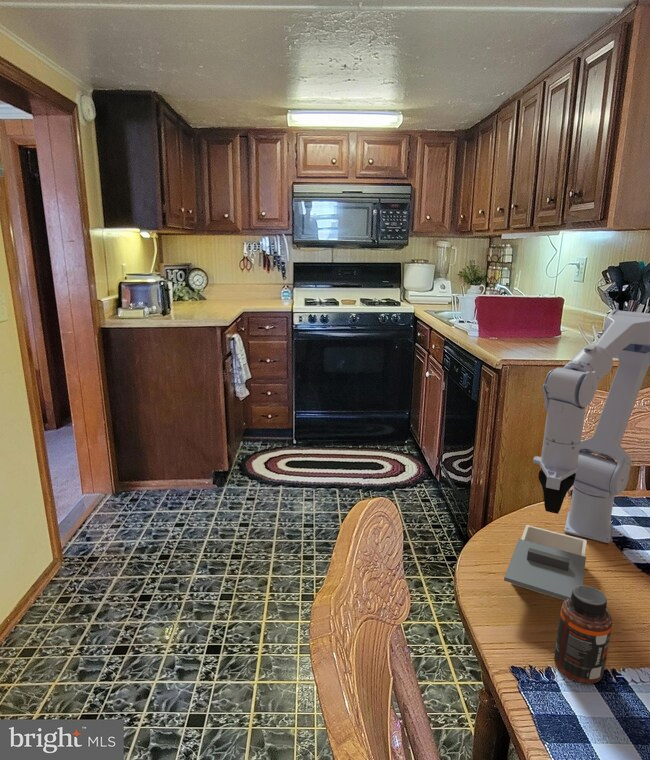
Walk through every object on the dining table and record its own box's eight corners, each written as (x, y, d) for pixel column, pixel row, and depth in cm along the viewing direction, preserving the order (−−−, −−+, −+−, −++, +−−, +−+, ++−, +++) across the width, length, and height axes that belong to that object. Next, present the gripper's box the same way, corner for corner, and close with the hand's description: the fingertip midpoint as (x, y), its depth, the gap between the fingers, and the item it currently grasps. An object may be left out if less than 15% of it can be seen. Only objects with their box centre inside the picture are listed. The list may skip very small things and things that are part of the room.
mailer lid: (518, 541, 87) (519, 530, 87) (585, 560, 82) (587, 548, 82) (503, 580, 77) (505, 568, 76) (579, 604, 72) (582, 591, 71)
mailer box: (523, 548, 95) (526, 524, 94) (582, 565, 90) (586, 540, 89) (511, 583, 85) (514, 557, 83) (577, 604, 80) (581, 576, 79)
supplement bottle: (609, 690, 64) (623, 613, 61) (559, 682, 65) (570, 606, 63) (594, 655, 70) (607, 583, 67) (548, 647, 71) (559, 577, 68)
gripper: (542, 422, 94) (534, 489, 98) (530, 447, 82) (521, 522, 86) (584, 429, 91) (574, 498, 94) (578, 456, 79) (567, 534, 82)
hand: (552, 510), depth 90 cm, fingers closed
